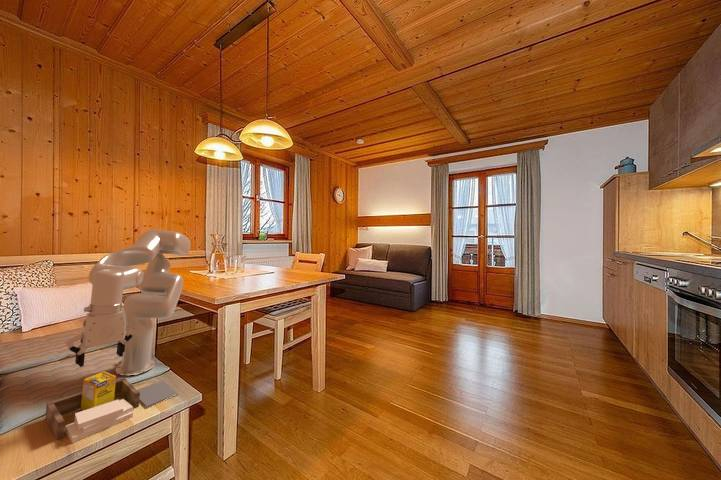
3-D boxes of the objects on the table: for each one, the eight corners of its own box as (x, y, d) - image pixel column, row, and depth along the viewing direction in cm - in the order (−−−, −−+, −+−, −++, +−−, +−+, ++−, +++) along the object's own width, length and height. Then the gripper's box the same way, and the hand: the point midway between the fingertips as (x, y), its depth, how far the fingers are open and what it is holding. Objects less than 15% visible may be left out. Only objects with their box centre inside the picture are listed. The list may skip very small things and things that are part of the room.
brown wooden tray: (45, 418, 85) (46, 403, 85) (123, 391, 101) (124, 377, 101) (57, 440, 79) (58, 423, 78) (138, 406, 95) (139, 392, 95)
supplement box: (113, 406, 94) (116, 375, 93) (92, 417, 88) (95, 384, 87) (101, 401, 95) (104, 370, 95) (79, 411, 89) (82, 379, 89)
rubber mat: (131, 392, 101) (131, 391, 101) (162, 381, 110) (162, 380, 110) (146, 408, 95) (146, 406, 95) (178, 394, 104) (178, 393, 104)
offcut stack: (64, 430, 82) (65, 415, 82) (124, 406, 94) (125, 393, 94) (72, 443, 78) (73, 428, 78) (133, 417, 90) (135, 403, 90)
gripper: (72, 316, 80) (66, 374, 81) (143, 306, 95) (137, 355, 96) (64, 310, 84) (58, 365, 85) (133, 301, 99) (128, 348, 99)
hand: (100, 359), depth 90 cm, fingers open, 9 cm apart
